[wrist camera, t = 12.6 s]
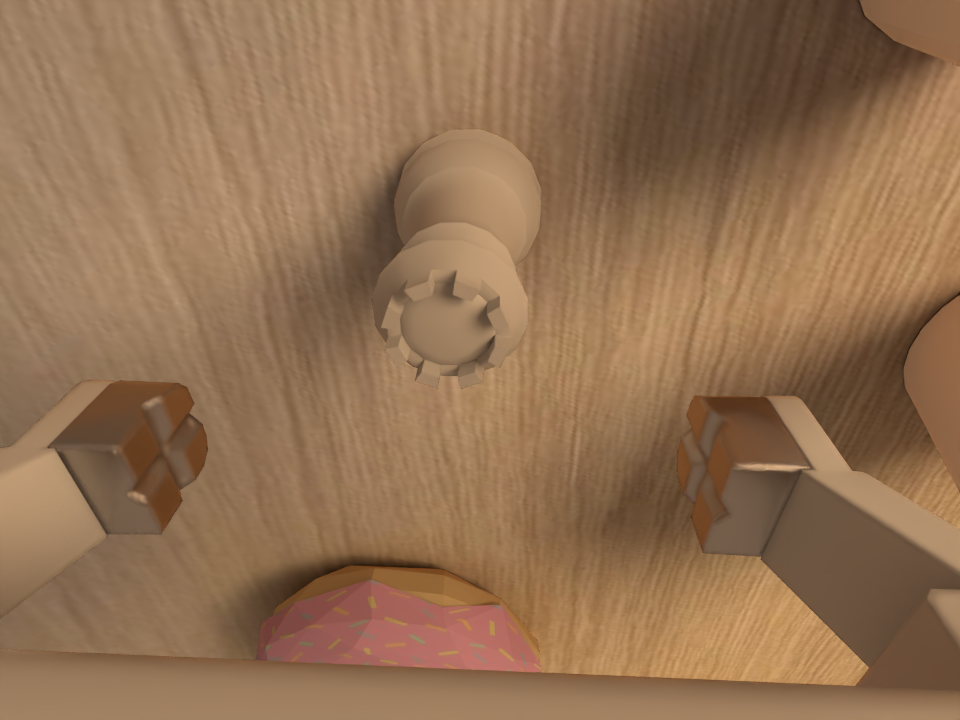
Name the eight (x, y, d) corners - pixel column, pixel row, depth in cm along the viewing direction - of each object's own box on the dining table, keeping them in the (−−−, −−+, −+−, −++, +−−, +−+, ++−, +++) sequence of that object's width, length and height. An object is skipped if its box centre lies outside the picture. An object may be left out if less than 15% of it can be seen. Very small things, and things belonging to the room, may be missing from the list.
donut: (594, 601, 29) (607, 702, 25) (468, 709, 38) (463, 799, 33) (317, 504, 26) (281, 604, 22) (244, 647, 34) (207, 738, 30)
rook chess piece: (421, 276, 19) (374, 437, 12) (379, 142, 16) (292, 255, 10) (551, 251, 18) (575, 409, 12) (528, 108, 16) (541, 204, 9)
